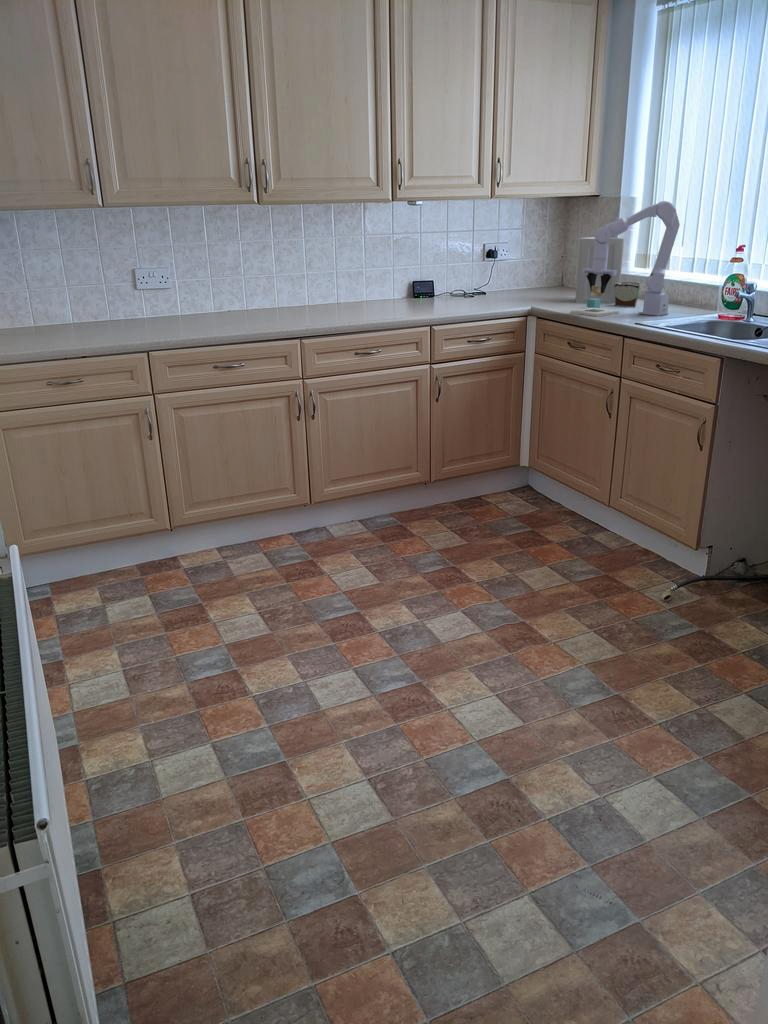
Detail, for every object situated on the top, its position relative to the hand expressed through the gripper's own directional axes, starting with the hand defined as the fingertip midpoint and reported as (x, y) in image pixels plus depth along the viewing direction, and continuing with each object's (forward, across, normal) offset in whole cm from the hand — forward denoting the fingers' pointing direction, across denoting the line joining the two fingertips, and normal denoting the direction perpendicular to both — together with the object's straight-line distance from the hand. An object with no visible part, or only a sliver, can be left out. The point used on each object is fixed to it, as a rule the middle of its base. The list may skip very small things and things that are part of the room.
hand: (597, 292), depth 350 cm
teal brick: (+9, +8, -12) cm, 17 cm away
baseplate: (+8, 0, +1) cm, 9 cm away
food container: (+9, -1, -29) cm, 30 cm away
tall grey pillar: (+9, +18, -34) cm, 40 cm away
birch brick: (+2, 0, 0) cm, 2 cm away
